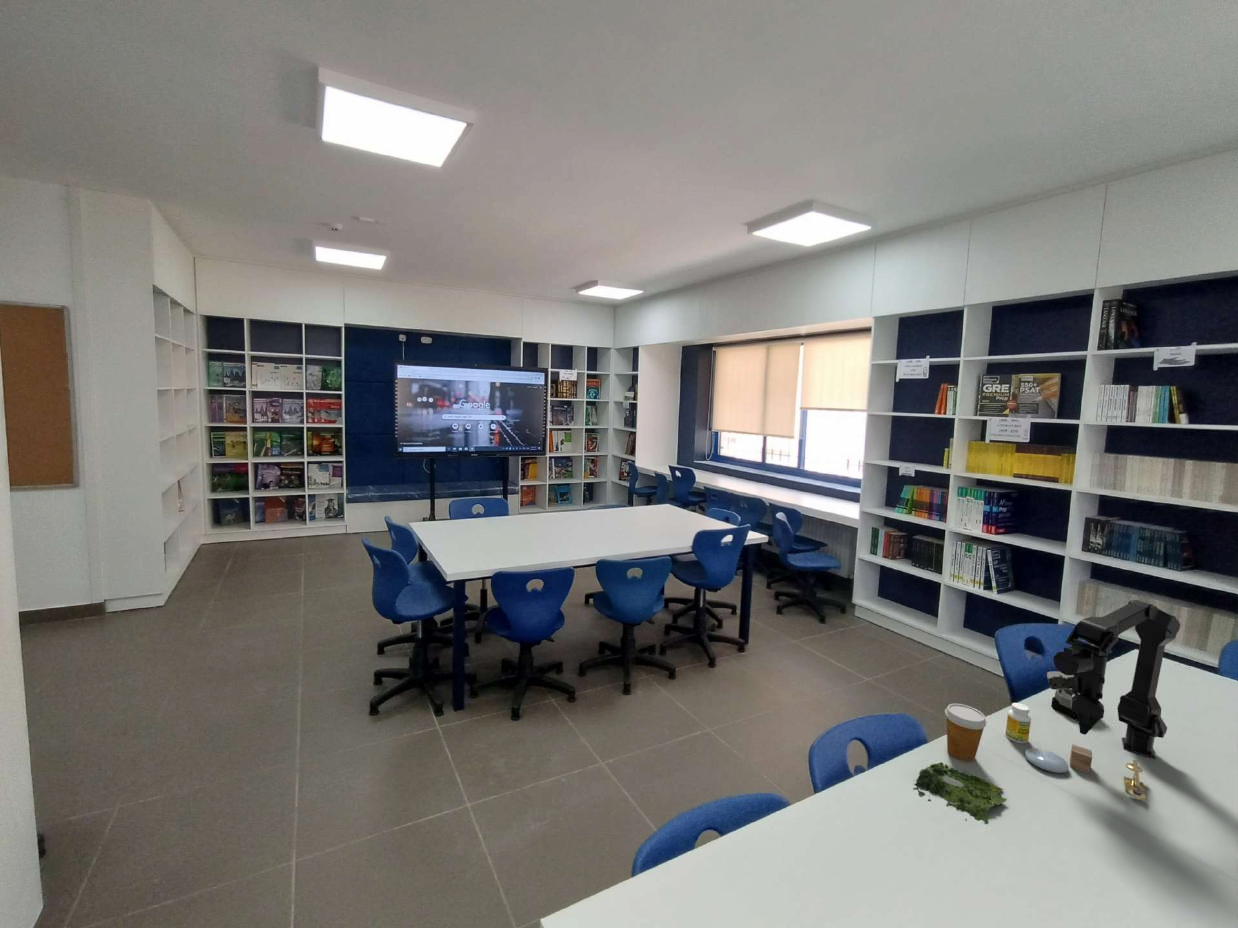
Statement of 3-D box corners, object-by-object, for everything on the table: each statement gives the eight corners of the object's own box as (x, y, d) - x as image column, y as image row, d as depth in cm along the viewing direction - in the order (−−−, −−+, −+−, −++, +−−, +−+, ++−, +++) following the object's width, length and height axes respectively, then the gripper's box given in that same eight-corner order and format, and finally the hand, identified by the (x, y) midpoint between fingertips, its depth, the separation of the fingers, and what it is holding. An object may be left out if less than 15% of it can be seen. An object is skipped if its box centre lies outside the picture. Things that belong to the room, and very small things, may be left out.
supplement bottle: (1015, 731, 163) (1019, 700, 162) (1032, 742, 157) (1037, 710, 156) (1000, 733, 161) (1004, 701, 160) (1017, 744, 156) (1021, 712, 155)
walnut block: (1069, 759, 151) (1072, 743, 150) (1089, 766, 148) (1091, 750, 148) (1069, 766, 147) (1072, 750, 147) (1089, 773, 145) (1092, 757, 145)
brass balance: (1122, 772, 146) (1125, 753, 145) (1141, 778, 144) (1144, 759, 143) (1126, 798, 136) (1129, 778, 135) (1146, 805, 134) (1150, 785, 133)
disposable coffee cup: (988, 768, 145) (993, 724, 144) (947, 762, 147) (953, 719, 146) (973, 746, 154) (978, 705, 153) (935, 741, 156) (940, 700, 155)
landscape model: (901, 794, 137) (901, 774, 137) (947, 768, 148) (947, 749, 148) (974, 834, 123) (975, 811, 122) (1019, 801, 134) (1019, 780, 134)
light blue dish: (1025, 748, 154) (1026, 743, 154) (1067, 762, 149) (1068, 757, 149) (1023, 764, 147) (1024, 759, 147) (1067, 779, 142) (1068, 774, 142)
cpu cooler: (1048, 689, 177) (1069, 685, 181) (1045, 706, 178) (1067, 702, 182) (1085, 706, 168) (1106, 701, 171) (1082, 724, 168) (1103, 719, 172)
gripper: (1052, 648, 158) (1045, 700, 159) (1050, 671, 143) (1042, 729, 145) (1104, 660, 151) (1096, 715, 153) (1108, 686, 136) (1099, 747, 138)
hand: (1082, 725), depth 147 cm, fingers open, 9 cm apart
